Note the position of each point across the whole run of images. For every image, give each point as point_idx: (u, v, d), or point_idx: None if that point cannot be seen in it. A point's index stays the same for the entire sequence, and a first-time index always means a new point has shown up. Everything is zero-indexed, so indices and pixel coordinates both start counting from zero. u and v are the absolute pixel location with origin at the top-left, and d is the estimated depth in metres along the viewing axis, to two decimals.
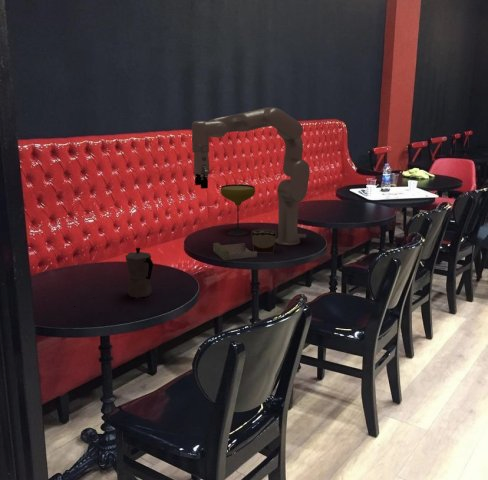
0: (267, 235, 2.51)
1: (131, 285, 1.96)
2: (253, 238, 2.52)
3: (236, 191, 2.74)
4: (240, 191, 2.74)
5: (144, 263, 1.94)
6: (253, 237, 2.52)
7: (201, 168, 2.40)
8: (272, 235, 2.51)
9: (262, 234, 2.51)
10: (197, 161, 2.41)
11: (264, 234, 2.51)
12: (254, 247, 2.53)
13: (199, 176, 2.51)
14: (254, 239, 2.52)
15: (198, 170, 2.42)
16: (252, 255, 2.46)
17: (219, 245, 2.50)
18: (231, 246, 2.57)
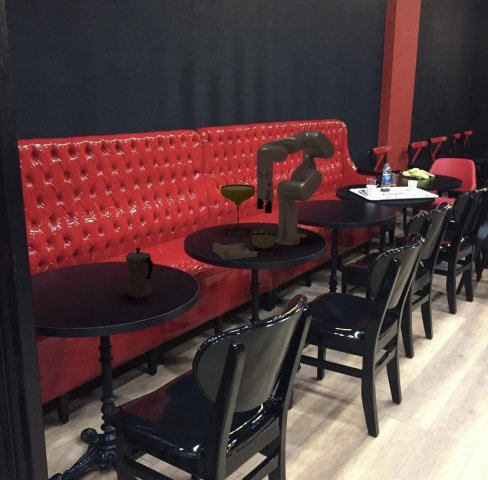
0: (267, 235, 2.51)
1: (131, 285, 1.96)
2: (253, 238, 2.52)
3: (236, 191, 2.74)
4: (240, 191, 2.74)
5: (144, 263, 1.94)
6: (253, 237, 2.52)
7: (266, 193, 2.44)
8: (272, 235, 2.51)
9: (262, 234, 2.51)
10: (262, 186, 2.45)
11: (264, 234, 2.51)
12: (254, 247, 2.53)
13: (261, 200, 2.54)
14: (254, 239, 2.52)
15: (262, 195, 2.45)
16: (252, 255, 2.46)
17: (219, 245, 2.50)
18: (231, 246, 2.57)
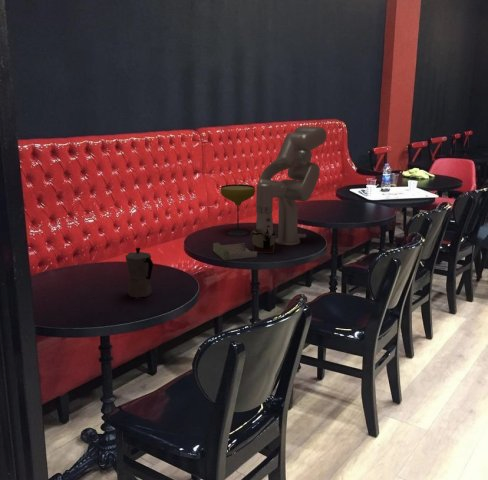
0: (267, 235, 2.52)
1: (131, 285, 1.96)
2: (253, 238, 2.52)
3: (236, 191, 2.74)
4: (240, 191, 2.74)
5: (144, 263, 1.94)
6: (253, 237, 2.52)
7: (265, 228, 2.48)
8: (272, 235, 2.51)
9: (262, 234, 2.52)
10: (261, 221, 2.49)
11: None
12: (254, 247, 2.53)
13: None
14: (254, 239, 2.52)
15: (262, 230, 2.49)
16: (252, 255, 2.46)
17: (219, 245, 2.50)
18: (231, 246, 2.57)
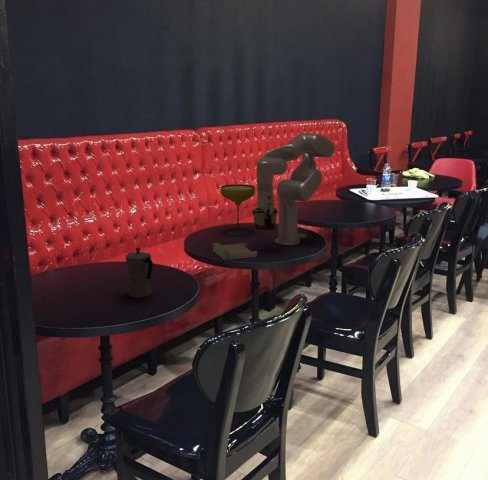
0: (268, 213, 2.50)
1: (131, 285, 1.96)
2: (254, 216, 2.50)
3: (236, 191, 2.74)
4: (240, 191, 2.74)
5: (144, 263, 1.94)
6: (254, 215, 2.50)
7: (266, 206, 2.46)
8: (273, 212, 2.50)
9: (263, 212, 2.50)
10: (262, 199, 2.47)
11: None
12: (255, 225, 2.52)
13: None
14: (255, 217, 2.51)
15: (263, 208, 2.47)
16: (252, 255, 2.46)
17: (219, 245, 2.50)
18: (231, 246, 2.57)
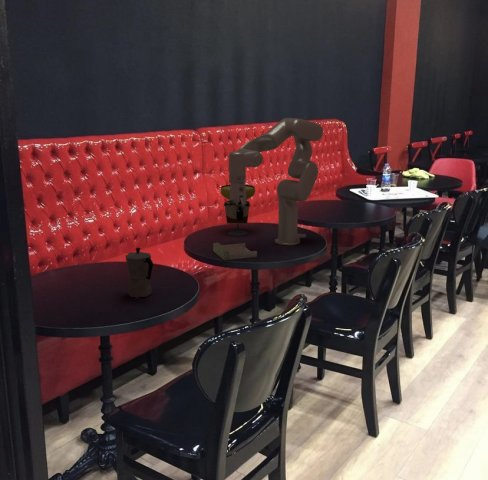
0: None
1: (131, 285, 1.96)
2: (226, 209, 2.44)
3: None
4: None
5: (144, 263, 1.94)
6: (226, 208, 2.44)
7: (238, 199, 2.40)
8: (245, 205, 2.43)
9: None
10: (234, 191, 2.41)
11: None
12: (227, 218, 2.45)
13: None
14: (227, 210, 2.44)
15: (235, 200, 2.41)
16: (252, 255, 2.46)
17: (219, 245, 2.50)
18: (231, 246, 2.57)
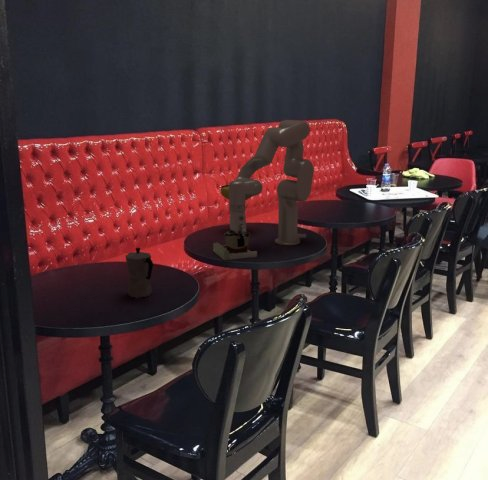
0: None
1: (131, 285, 1.96)
2: (226, 239, 2.48)
3: None
4: None
5: (144, 263, 1.94)
6: (226, 238, 2.48)
7: (238, 227, 2.43)
8: (245, 236, 2.48)
9: (235, 235, 2.48)
10: (234, 220, 2.44)
11: (237, 235, 2.48)
12: (227, 248, 2.49)
13: None
14: (227, 240, 2.48)
15: (235, 229, 2.45)
16: (252, 255, 2.46)
17: (219, 245, 2.50)
18: None
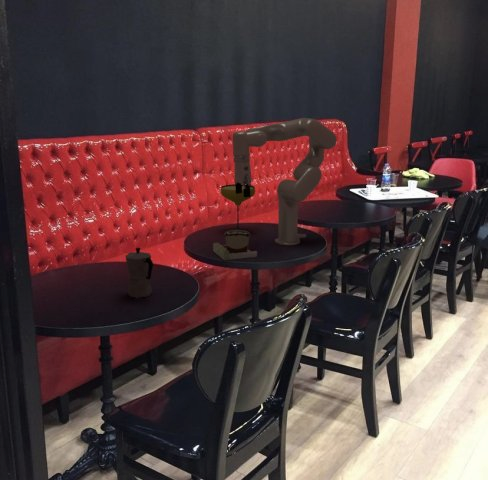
0: (240, 236, 2.48)
1: (131, 285, 1.96)
2: (226, 239, 2.48)
3: None
4: None
5: (144, 263, 1.94)
6: (226, 238, 2.48)
7: (244, 177, 2.46)
8: (245, 235, 2.48)
9: (235, 235, 2.48)
10: (239, 171, 2.47)
11: (237, 235, 2.48)
12: (227, 248, 2.49)
13: (239, 185, 2.57)
14: (228, 240, 2.48)
15: (240, 179, 2.48)
16: (252, 255, 2.46)
17: (219, 245, 2.50)
18: None
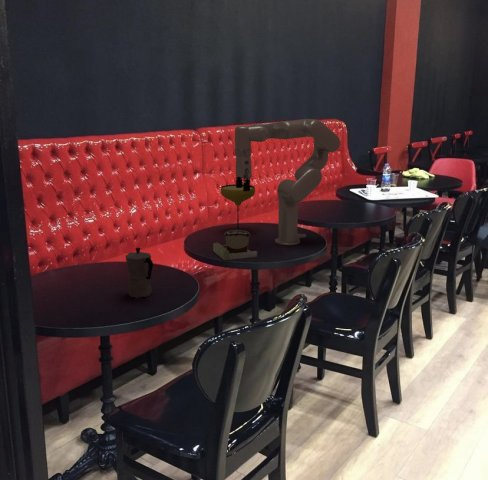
0: (240, 236, 2.48)
1: (131, 285, 1.96)
2: (226, 239, 2.48)
3: (236, 191, 2.74)
4: (240, 191, 2.74)
5: (144, 263, 1.94)
6: (226, 238, 2.48)
7: (244, 171, 2.48)
8: (245, 235, 2.48)
9: (235, 235, 2.48)
10: (240, 165, 2.49)
11: (237, 235, 2.48)
12: (227, 248, 2.49)
13: (240, 179, 2.59)
14: (228, 240, 2.48)
15: (241, 173, 2.50)
16: (252, 255, 2.46)
17: (219, 245, 2.50)
18: None
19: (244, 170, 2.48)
